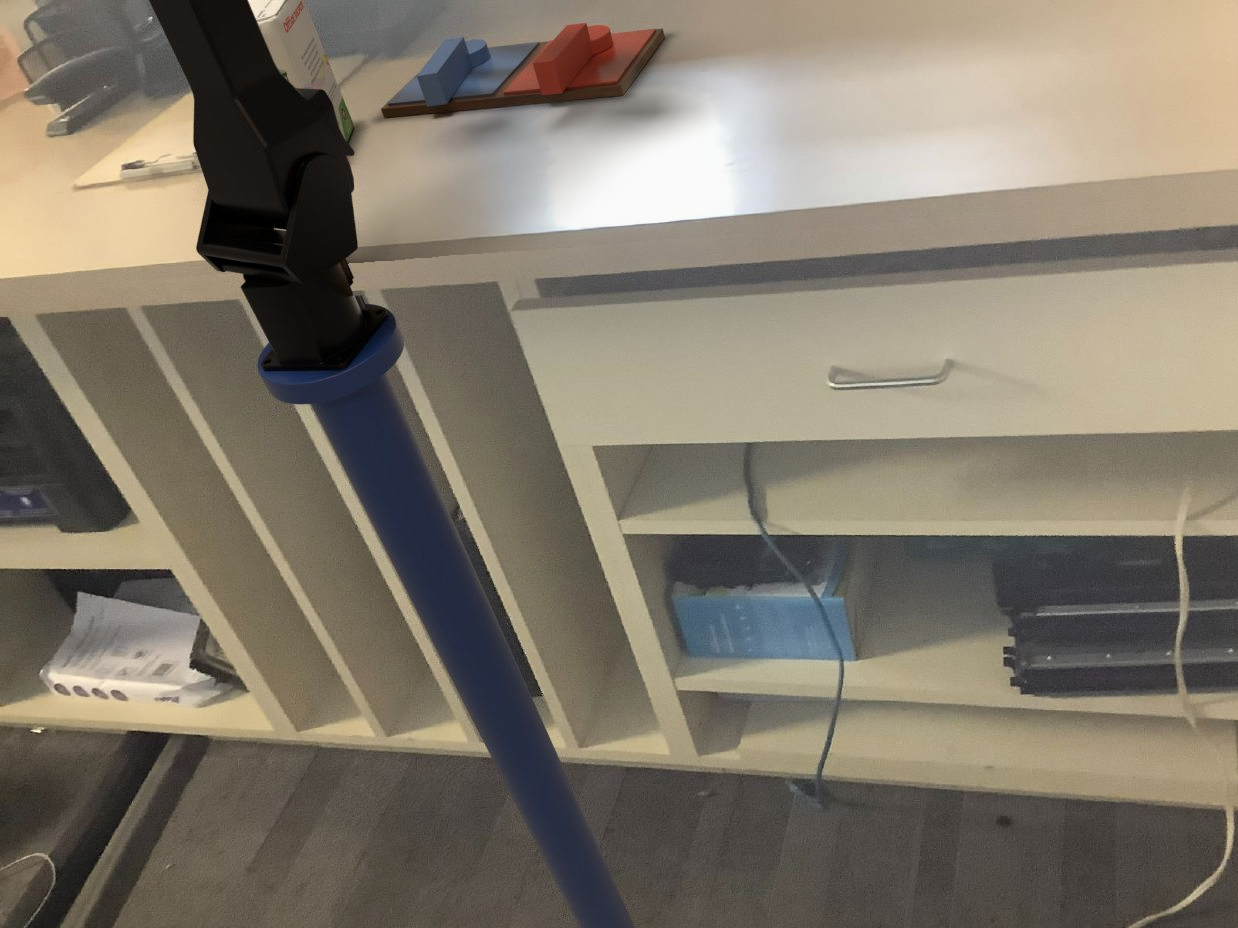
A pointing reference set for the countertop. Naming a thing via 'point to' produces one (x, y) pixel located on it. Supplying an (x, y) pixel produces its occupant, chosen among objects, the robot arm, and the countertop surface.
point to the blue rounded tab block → (450, 68)
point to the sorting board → (516, 82)
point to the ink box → (299, 51)
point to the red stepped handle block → (569, 55)
